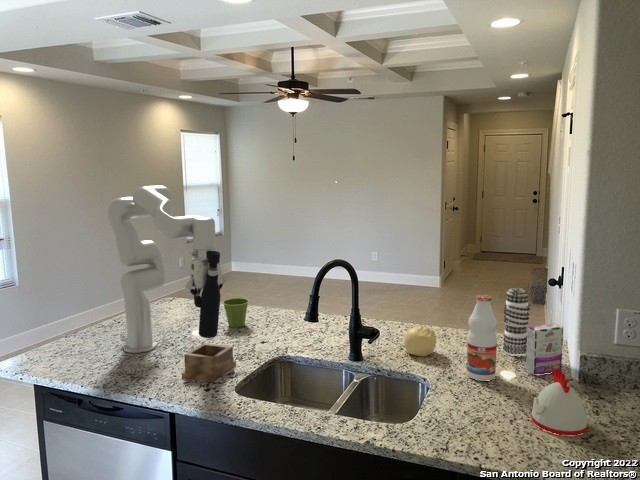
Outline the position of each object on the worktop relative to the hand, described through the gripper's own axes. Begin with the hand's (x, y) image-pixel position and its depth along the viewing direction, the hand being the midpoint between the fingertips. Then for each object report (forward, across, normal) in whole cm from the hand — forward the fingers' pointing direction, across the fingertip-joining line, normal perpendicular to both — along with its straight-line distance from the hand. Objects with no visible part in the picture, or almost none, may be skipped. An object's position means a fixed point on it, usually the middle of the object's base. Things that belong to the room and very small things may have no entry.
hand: (206, 304), depth 177 cm
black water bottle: (+11, 0, 0) cm, 11 cm away
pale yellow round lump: (+24, +66, -42) cm, 82 cm away
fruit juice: (+24, +63, -70) cm, 97 cm away
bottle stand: (+24, 0, 0) cm, 24 cm away
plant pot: (+24, +37, +37) cm, 57 cm away
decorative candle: (+24, +92, -68) cm, 117 cm away
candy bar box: (+24, +82, -83) cm, 119 cm away
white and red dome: (+24, +49, -101) cm, 115 cm away
